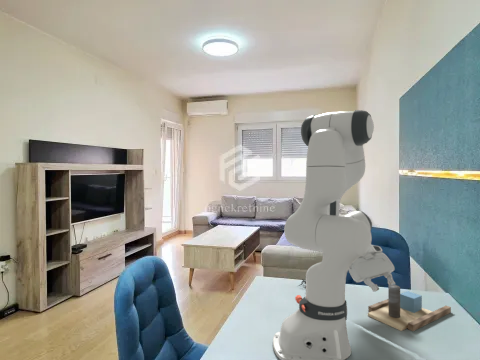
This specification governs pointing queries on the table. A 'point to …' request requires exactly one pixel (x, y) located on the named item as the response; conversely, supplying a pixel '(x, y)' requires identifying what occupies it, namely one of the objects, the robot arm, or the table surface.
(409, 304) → the cube
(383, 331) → the table surface
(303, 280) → the creature
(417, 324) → the track
